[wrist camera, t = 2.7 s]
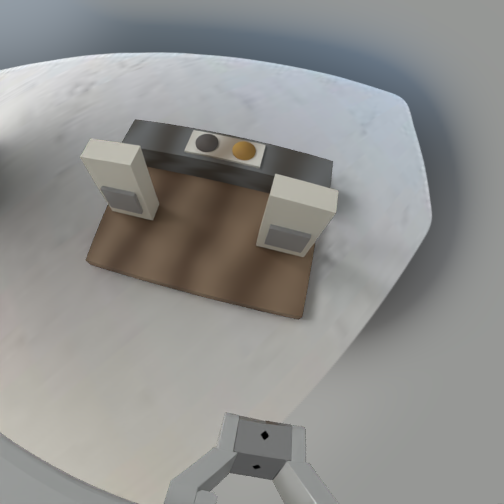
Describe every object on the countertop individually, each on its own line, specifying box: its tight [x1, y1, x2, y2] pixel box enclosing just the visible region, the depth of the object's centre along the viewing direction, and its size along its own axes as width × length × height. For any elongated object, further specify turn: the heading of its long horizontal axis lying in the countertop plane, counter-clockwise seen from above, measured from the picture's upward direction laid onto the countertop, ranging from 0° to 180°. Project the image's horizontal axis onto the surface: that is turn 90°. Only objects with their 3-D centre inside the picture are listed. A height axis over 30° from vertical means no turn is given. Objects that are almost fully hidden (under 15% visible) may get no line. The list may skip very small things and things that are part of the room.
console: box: [86, 120, 333, 319], centre depth 32 cm, size 23×18×6 cm
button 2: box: [80, 139, 159, 220], centre depth 27 cm, size 5×2×10 cm, turn 77°
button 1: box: [256, 174, 338, 257], centre depth 28 cm, size 5×2×10 cm, turn 77°
